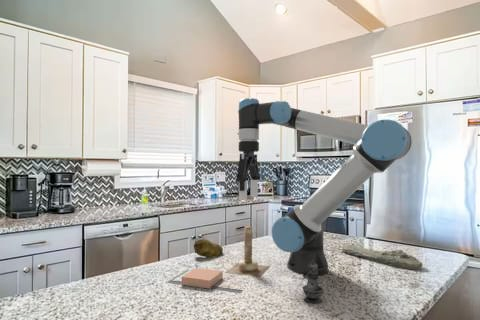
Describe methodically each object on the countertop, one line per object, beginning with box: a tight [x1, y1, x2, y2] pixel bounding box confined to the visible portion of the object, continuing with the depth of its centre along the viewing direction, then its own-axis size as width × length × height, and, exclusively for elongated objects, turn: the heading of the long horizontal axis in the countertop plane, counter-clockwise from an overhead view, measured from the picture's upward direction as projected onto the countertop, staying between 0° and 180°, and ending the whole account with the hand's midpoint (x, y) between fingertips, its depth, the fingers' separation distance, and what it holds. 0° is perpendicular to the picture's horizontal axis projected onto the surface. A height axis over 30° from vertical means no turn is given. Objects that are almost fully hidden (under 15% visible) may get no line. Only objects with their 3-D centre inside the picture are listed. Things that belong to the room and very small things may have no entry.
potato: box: [193, 238, 224, 259], centre depth 144 cm, size 8×13×8 cm, turn 104°
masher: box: [238, 226, 259, 272], centre depth 125 cm, size 7×7×16 cm
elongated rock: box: [341, 244, 423, 270], centre depth 142 cm, size 35×5×10 cm
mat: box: [166, 269, 244, 294], centre depth 113 cm, size 26×14×1 cm, turn 70°
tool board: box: [225, 262, 271, 278], centre depth 125 cm, size 13×13×1 cm
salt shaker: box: [302, 259, 324, 305], centre depth 99 cm, size 6×6×12 cm
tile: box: [181, 267, 223, 290], centre depth 112 cm, size 10×3×10 cm
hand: (248, 198), depth 125 cm, fingers open, 13 cm apart
